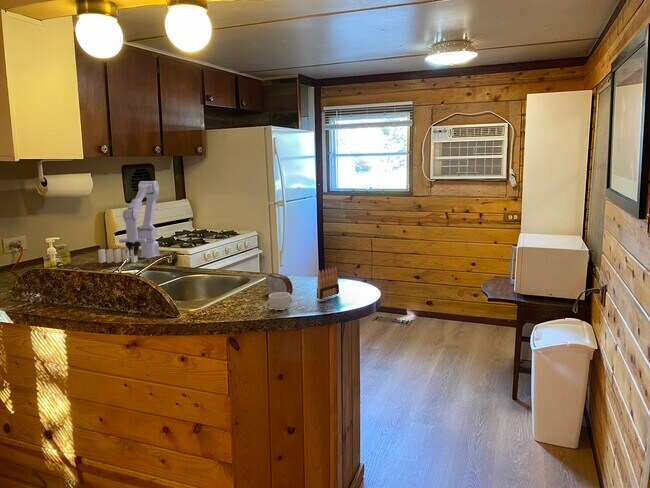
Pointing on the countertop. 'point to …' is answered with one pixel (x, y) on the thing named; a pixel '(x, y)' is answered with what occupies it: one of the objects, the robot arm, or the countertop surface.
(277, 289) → the grey brown rounded slab
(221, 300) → the countertop surface
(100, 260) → the domino
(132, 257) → the domino
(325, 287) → the ammunition clip
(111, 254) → the domino
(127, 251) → the domino
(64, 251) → the supplement box
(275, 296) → the teacup
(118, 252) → the domino
